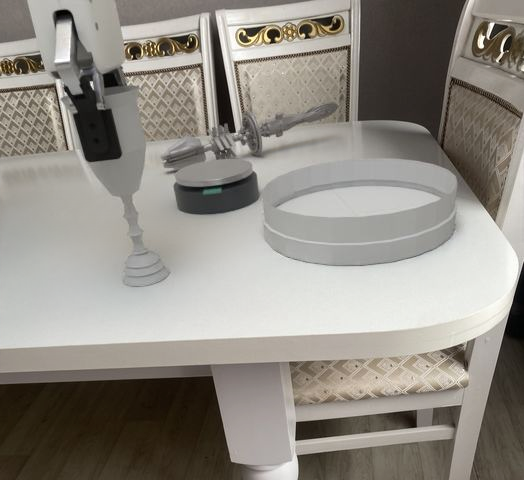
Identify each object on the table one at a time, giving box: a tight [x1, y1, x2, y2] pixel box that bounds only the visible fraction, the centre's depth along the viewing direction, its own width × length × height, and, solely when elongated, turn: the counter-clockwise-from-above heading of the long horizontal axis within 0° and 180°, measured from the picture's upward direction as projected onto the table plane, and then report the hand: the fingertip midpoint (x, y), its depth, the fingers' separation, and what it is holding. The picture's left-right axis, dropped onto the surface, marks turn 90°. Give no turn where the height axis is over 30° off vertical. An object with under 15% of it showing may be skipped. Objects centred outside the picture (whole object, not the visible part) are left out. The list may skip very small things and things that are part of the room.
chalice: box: [59, 85, 170, 287], centre depth 52 cm, size 7×7×18 cm
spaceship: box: [159, 101, 339, 170], centre depth 95 cm, size 8×35×8 cm
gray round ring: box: [261, 157, 458, 266], centre depth 61 cm, size 22×22×5 cm
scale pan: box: [174, 158, 254, 187], centre depth 74 cm, size 11×11×1 cm
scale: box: [172, 170, 260, 216], centre depth 75 cm, size 12×12×3 cm
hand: (114, 148), depth 49 cm, fingers closed on chalice, 7 cm apart
